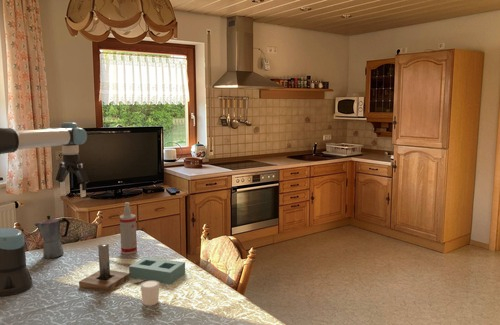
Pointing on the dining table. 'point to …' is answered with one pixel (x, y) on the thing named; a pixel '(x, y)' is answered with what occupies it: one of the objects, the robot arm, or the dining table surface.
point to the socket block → (102, 285)
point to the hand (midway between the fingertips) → (73, 195)
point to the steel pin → (104, 261)
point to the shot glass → (150, 292)
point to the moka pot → (52, 236)
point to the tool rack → (157, 270)
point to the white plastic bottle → (128, 231)
